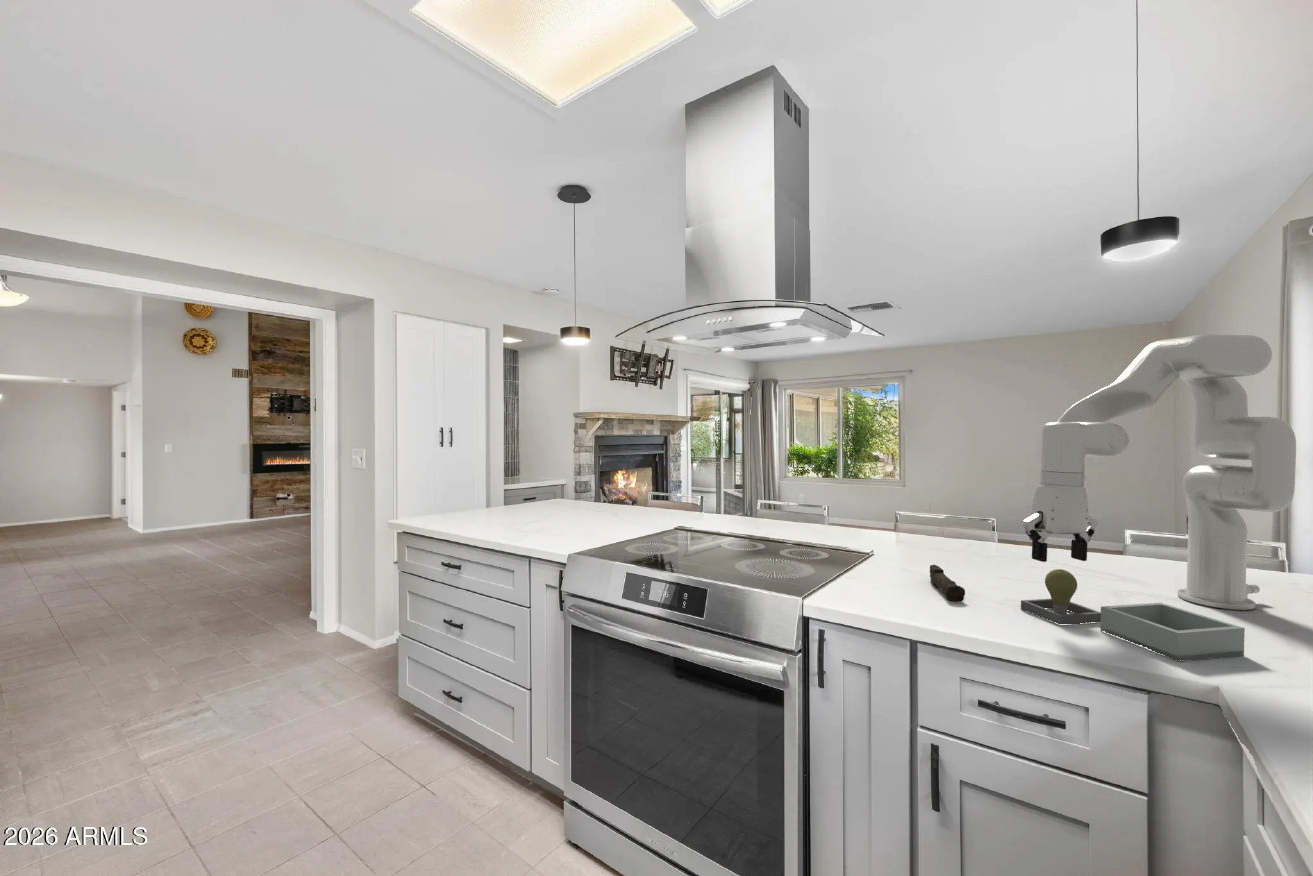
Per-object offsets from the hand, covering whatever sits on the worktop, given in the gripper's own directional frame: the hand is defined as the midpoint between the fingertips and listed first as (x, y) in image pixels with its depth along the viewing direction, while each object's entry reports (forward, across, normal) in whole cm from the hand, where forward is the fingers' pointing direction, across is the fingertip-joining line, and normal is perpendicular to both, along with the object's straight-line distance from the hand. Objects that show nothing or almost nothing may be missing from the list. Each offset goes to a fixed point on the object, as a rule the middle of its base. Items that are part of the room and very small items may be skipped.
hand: (1059, 559), depth 117 cm
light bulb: (+12, -1, 0) cm, 12 cm away
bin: (+12, -8, +16) cm, 21 cm away
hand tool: (+13, +12, -21) cm, 27 cm away
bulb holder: (+12, -1, 0) cm, 12 cm away
